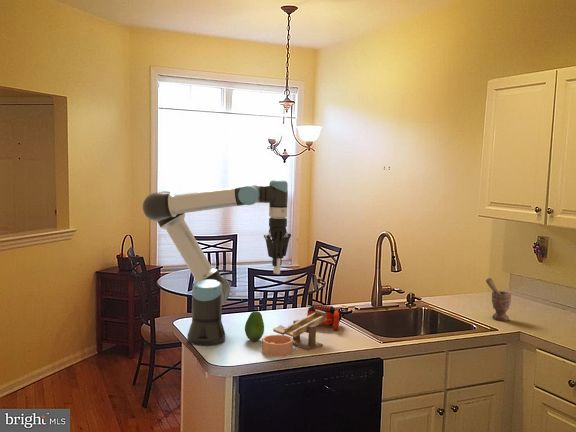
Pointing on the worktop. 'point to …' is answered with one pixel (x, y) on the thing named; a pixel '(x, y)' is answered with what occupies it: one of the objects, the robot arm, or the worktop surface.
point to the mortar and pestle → (499, 302)
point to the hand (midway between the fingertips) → (276, 273)
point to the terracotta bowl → (277, 345)
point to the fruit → (254, 326)
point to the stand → (305, 342)
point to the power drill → (328, 315)
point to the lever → (302, 324)
